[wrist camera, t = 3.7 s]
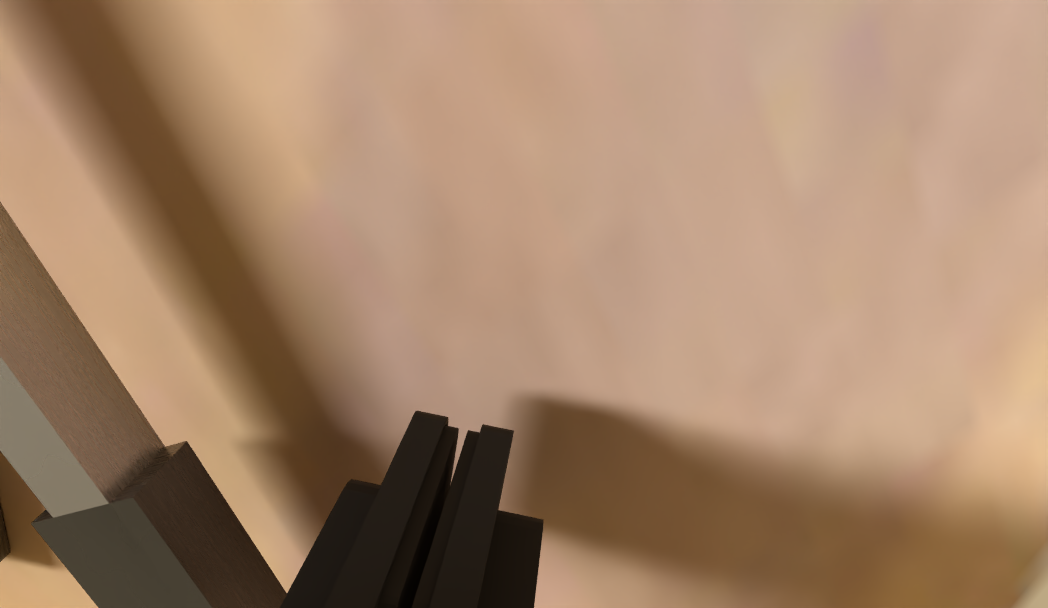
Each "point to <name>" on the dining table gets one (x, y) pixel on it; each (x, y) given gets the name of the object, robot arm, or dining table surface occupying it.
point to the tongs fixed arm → (3, 539)
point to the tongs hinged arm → (109, 464)
